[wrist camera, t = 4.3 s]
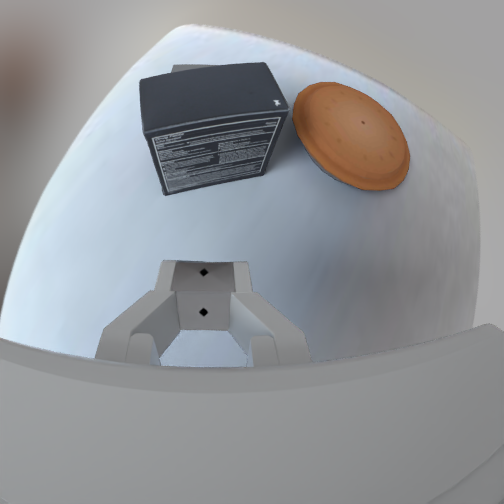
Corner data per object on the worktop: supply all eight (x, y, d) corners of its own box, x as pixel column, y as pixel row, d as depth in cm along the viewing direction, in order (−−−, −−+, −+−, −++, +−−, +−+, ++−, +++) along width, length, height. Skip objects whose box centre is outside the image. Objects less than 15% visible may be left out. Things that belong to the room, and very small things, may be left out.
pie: (393, 220, 29) (420, 207, 24) (272, 175, 28) (284, 150, 23) (392, 127, 33) (410, 109, 28) (294, 85, 31) (305, 59, 26)
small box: (248, 127, 28) (267, 58, 18) (265, 176, 27) (295, 112, 17) (154, 145, 26) (138, 75, 16) (163, 198, 25) (142, 135, 15)
